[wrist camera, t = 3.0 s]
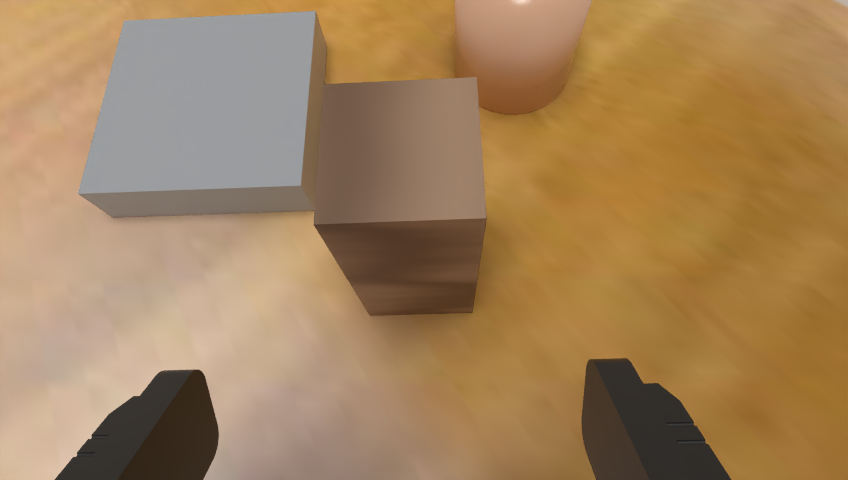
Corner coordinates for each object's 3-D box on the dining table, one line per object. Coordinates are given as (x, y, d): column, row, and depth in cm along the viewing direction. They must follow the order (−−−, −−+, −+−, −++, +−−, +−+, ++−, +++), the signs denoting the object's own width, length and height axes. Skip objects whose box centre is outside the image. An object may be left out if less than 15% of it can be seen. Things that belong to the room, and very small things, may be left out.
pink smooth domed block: (560, 21, 28) (587, -82, 23) (574, 112, 26) (608, 21, 21) (452, 27, 29) (452, -75, 23) (456, 117, 26) (458, 29, 21)
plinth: (328, 52, 29) (315, 10, 26) (317, 214, 25) (300, 185, 22) (155, 61, 29) (123, 20, 27) (118, 221, 26) (78, 193, 23)
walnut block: (467, 218, 24) (476, 77, 15) (472, 312, 22) (486, 217, 13) (372, 222, 24) (323, 84, 15) (370, 315, 23) (313, 224, 13)
